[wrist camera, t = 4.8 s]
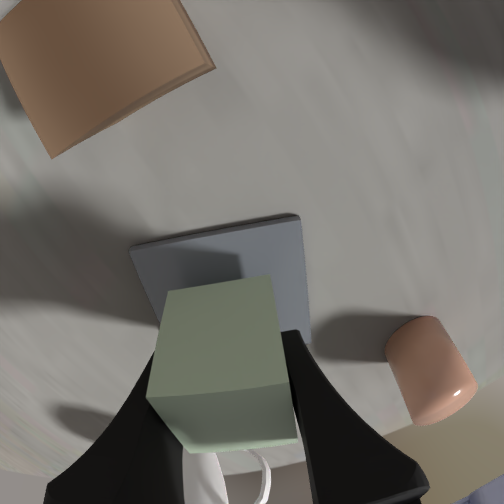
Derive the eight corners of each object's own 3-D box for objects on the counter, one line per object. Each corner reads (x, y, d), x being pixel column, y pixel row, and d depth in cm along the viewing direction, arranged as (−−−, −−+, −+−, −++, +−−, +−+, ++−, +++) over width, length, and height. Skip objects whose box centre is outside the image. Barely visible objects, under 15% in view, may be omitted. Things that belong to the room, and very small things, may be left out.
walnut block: (168, -21, 8) (127, -74, 3) (216, 68, 10) (205, 63, 5) (73, 38, 8) (-12, 33, 4) (118, 122, 10) (51, 159, 6)
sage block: (281, 345, 14) (298, 442, 10) (196, 357, 14) (189, 453, 10) (270, 274, 12) (289, 382, 8) (168, 291, 12) (145, 397, 8)
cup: (129, 430, 21) (116, 521, 14) (242, 406, 20) (249, 520, 13) (180, 461, 25) (177, 538, 18) (281, 442, 23) (292, 530, 16)
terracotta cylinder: (447, 309, 16) (487, 371, 12) (433, 352, 18) (464, 410, 14) (388, 325, 17) (422, 397, 12) (381, 368, 19) (405, 433, 14)
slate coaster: (298, 215, 13) (300, 219, 12) (310, 337, 16) (311, 342, 16) (131, 246, 13) (128, 251, 13) (179, 356, 17) (178, 362, 16)
